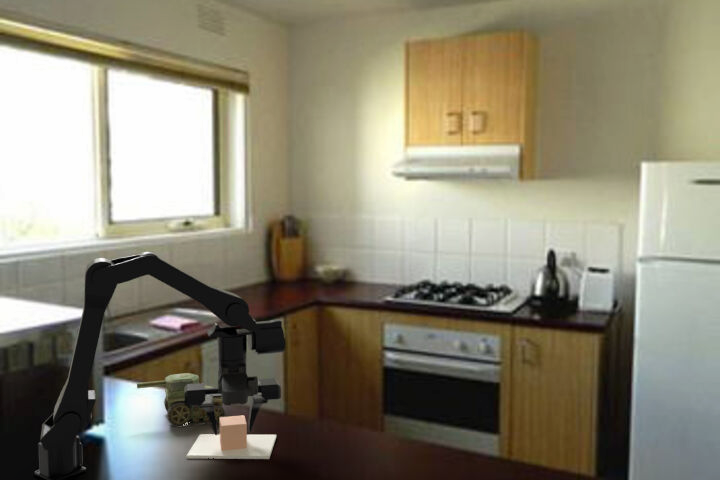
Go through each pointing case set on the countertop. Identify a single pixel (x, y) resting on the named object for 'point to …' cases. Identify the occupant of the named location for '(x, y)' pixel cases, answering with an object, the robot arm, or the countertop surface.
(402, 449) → the countertop surface
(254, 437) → the board
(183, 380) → the toy
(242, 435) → the block
